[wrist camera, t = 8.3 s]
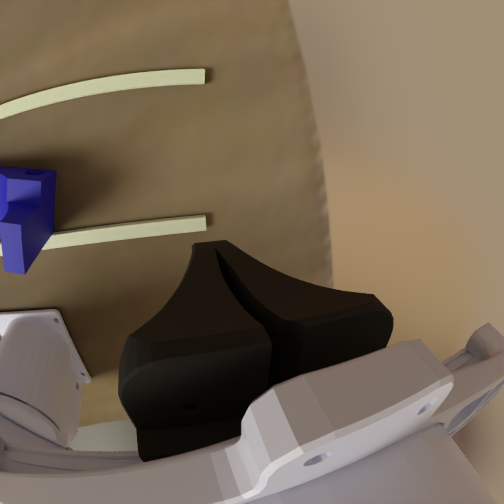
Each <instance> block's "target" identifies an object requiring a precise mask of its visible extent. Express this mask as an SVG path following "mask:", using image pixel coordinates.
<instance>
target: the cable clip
mask: <svg viewBox="0 0 504 504" xmlns="http://www.w3.org/2000/svg"><path fill="white" fill-rule="evenodd" d="M55 183H56V171H51V170H40V169H28V168H15V167H0V236H1V246H2V254H3V262H4V269H5V271H7V272H12V273H18V274H24V275H25V274H26V272H27V271H28V269H29V268H30V266H31V265H32V263H33V261H34V260H35V258H36V257H37V255H38V254H39V253H40V251H41V250H42V248H43V247H44V245H45V244H46V242H47V241H48V240H49V238H50V237H51V235H52V234H53V233H54V200H55Z"/></svg>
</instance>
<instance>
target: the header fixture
mask: <svg viewBox="0 0 504 504" xmlns="http://www.w3.org/2000/svg"><path fill="white" fill-rule="evenodd" d="M197 84H205V69H181V70H164V71H151V72H141V73H132V74H124V75H117V76H110V77H104V78H98V79H93V80H88V81H83V82H78V83H73V84H69V85H65V86H60V87H56V88H53V89H49V90H45V91H41V92H38V93H35V94H31V95H28V96H25V97H22V98H19V99H16V100H13V101H10V102H7V103H4V104H2V105H0V120H1V119H3V118H6V117H9V116H12V115H15V114H18V113H22V112H25V111H28V110H32V109H35V108H39V107H42V106H46V105H50V104H54V103H58V102H62V101H66V100H71V99H76V98H80V97H86V96H91V95H96V94H102V93H108V92H115V91H122V90H130V89H138V88H148V87H159V86H174V85H197ZM196 231H206V217H205V215H195V216H185V217H175V218H165V219H156V220H146V221H138V222H129V223H121V224H113V225H105V226H97V227H89V228H82V229H75V230H68V231H61V232H54V233H53V234H52V235H51V237H50V238H49V240H48V241H47V242H46V244H45V245H44V247H43V248H42V250H45V249H52V248H60V247H67V246H75V245H82V244H90V243H98V242H106V241H115V240H123V239H132V238H140V237H149V236H158V235H167V234H177V233H187V232H196ZM0 256H3V254H2V246H1V241H0Z"/></svg>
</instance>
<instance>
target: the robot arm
mask: <svg viewBox="0 0 504 504" xmlns="http://www.w3.org/2000/svg"><path fill="white" fill-rule="evenodd" d="M55 318H56V319H58V320H56V319H55ZM392 330H393V316H392V314H391V312H390V311H389V310H388V309H387V308H386V307H385V306H384V305H383V304H382V303H381V302H380V301H379V300H378V299H377V298H376V297H375V295H373V294H366V293H357V292H347V291H341V290H336V289H331V288H326V287H322V286H318V285H314V284H311V283H308V282H304V281H301V280H298V279H295V278H293V277H290V276H288V275H285V274H283V273H281V272H278V271H276V270H274V269H272V268H270V267H268V266H267V265H265V264H263V263H261V262H259V261H258V260H256V259H254V258H253V257H251V256H249V255H248V254H246V253H245V252H243V251H242V250H240V249H239V248H237V247H236V246H234V245H233V244H231V243H230V242H228V241H227V240H221V241H211V242H202V243H194V244H193V246H192V255H191V259H190V262H189V265H188V268H187V270H186V273H185V275H184V277H183V279H182V281H181V283H180V285H179V286H178V288H177V290H176V291H175V293H174V294H173V296H172V297H171V298H170V300H169V301H168V302H167V303H166V305H165V306H164V307H163V308H162V309H161V310H160V311H159V312H158V313H157V314H156V315H155V316H154V317H153V318H152V319H151V320H150V321H148V322H147V323H146V324H144V325H143V326H142V327H140V328H139V329H137V330H136V331H135V332H133V333H132V334H130V335H129V336H128V337H127V340H126V343H125V346H124V350H123V353H122V358H121V362H120V368H119V383H118V395H119V398H120V401H121V404H122V405H123V407H124V409H125V411H126V412H127V414H128V416H129V418H130V419H131V421H132V423H133V424H134V426H135V427H136V430H137V443H138V451H122V452H121V451H118V452H102V451H75V450H73V449H71V448H70V447H68V446H67V445H69V444H70V443H71V442H72V440H73V439H74V438H75V436H76V434H77V432H78V427H79V415H80V404H81V394H82V386H83V383H90V382H91V377H90V375H89V373H88V372H87V370H86V368H85V366H84V364H83V362H82V360H81V358H80V356H79V354H78V352H77V350H76V348H75V346H74V344H73V342H72V339H71V337H70V335H69V333H68V331H67V328H66V326H65V324H64V321H63V319H62V317H61V314H60V312H59V311H58V310H56V309H46V310H32V311H16V312H0V334H1V336H2V339H1V341H0V504H497V502H496V501H495V499H494V498H493V496H492V495H491V493H490V492H489V490H488V489H487V487H486V486H485V484H484V483H483V481H482V480H481V479H480V477H479V476H478V474H477V473H476V471H475V470H474V469H473V467H472V466H471V464H470V463H469V462H468V460H467V459H466V457H465V456H464V455H463V453H462V452H461V450H460V449H459V448H458V446H457V445H456V443H455V442H454V441H453V439H452V438H451V436H452V435H454V434H455V433H456V432H457V431H458V430H460V429H461V428H462V427H463V426H464V425H465V424H467V423H468V422H469V421H470V420H471V419H472V418H473V417H474V416H475V415H476V414H478V413H479V412H480V411H481V410H482V409H483V408H484V407H485V406H486V405H487V404H488V403H489V402H490V401H491V400H492V399H493V398H494V397H495V396H496V395H497V394H498V392H499V391H500V390H501V389H502V388H503V386H504V336H503V335H501V334H500V333H499V332H498V331H497V330H496V329H495V328H494V327H493V326H492V325H491V324H490V323H487V324H485V325H484V326H482V327H480V328H479V329H478V330H476V331H475V332H474V333H473V334H472V336H471V337H470V339H469V340H468V342H467V344H466V347H465V348H464V349H462V350H460V351H459V352H457V353H456V354H454V355H452V356H451V357H449V358H447V359H446V360H444V361H442V362H441V361H440V360H439V359H438V358H437V357H436V356H435V355H434V354H433V352H432V351H431V350H430V349H429V348H428V347H427V346H426V345H425V344H424V343H423V342H422V341H421V340H420V339H416V340H409V341H402V342H399V343H397V344H394V345H391V346H389V347H386V346H387V344H388V341H389V339H390V336H391V333H392Z"/></svg>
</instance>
